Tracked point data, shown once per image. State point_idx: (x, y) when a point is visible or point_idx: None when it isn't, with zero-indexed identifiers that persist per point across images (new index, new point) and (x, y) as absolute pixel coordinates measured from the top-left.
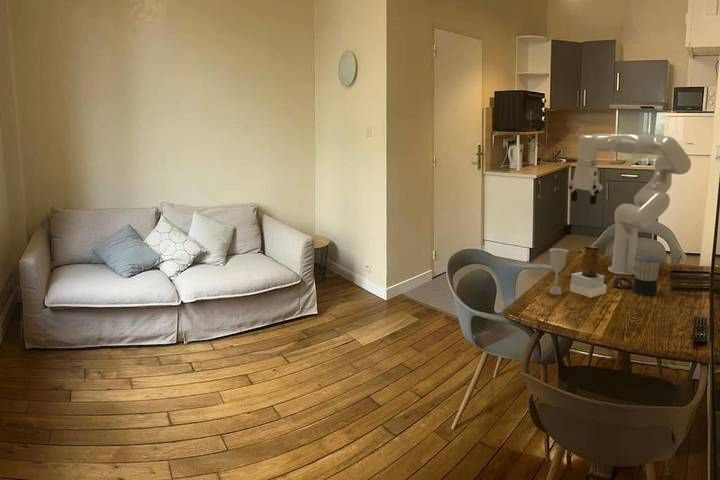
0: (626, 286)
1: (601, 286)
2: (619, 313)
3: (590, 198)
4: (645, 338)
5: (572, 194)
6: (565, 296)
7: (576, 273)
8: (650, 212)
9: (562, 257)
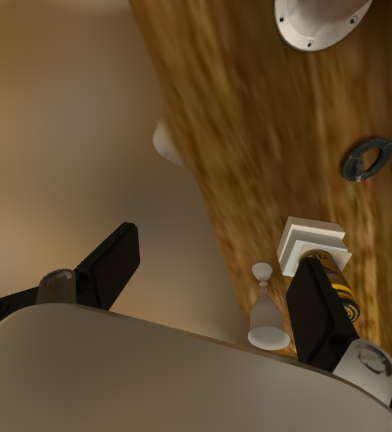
0: (377, 170)
1: None
2: (388, 296)
3: (298, 341)
4: None
5: (108, 303)
6: (283, 276)
7: (288, 267)
8: None
9: (281, 333)
